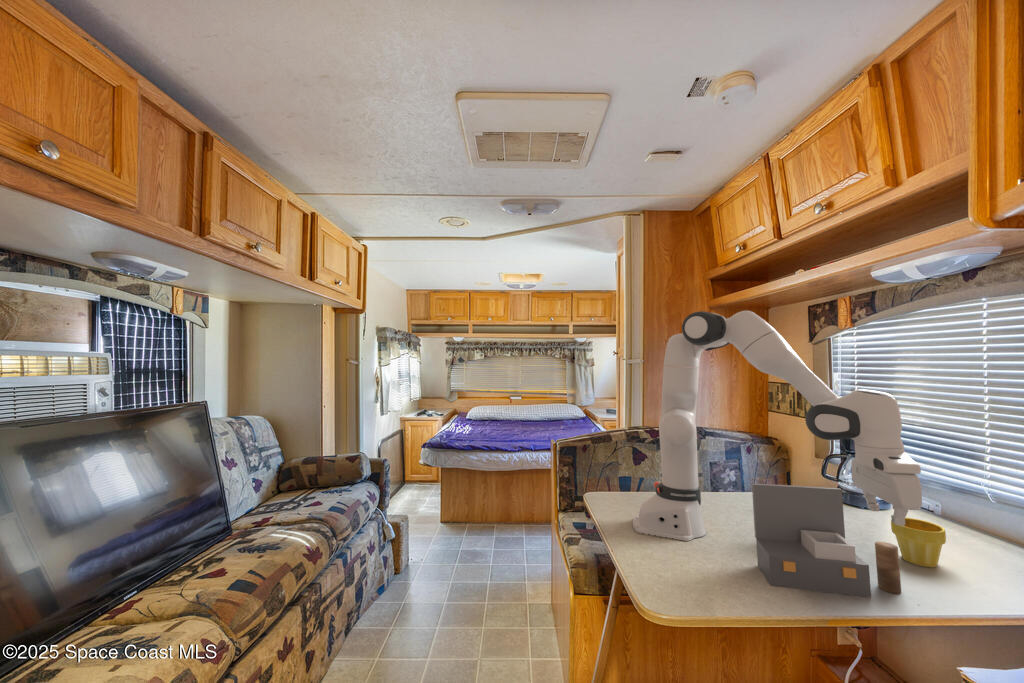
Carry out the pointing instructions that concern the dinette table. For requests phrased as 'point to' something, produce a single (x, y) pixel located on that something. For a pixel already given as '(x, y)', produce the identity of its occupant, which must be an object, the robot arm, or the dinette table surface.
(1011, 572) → the dinette table surface
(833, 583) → the case
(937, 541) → the plant pot
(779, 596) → the dinette table surface
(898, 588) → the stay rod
